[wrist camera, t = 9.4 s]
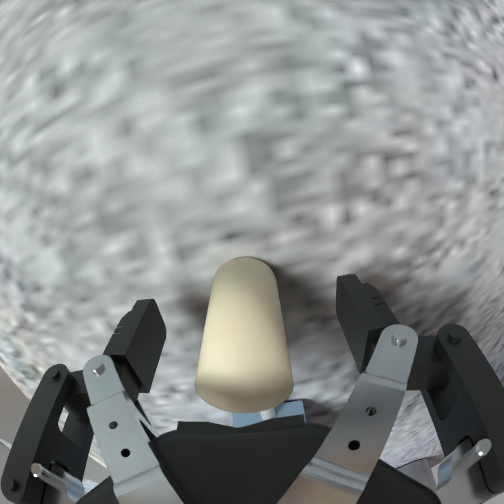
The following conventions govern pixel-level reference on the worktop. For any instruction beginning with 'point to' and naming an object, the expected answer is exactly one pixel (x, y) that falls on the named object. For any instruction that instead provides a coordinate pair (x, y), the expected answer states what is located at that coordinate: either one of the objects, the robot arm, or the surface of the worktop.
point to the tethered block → (246, 346)
